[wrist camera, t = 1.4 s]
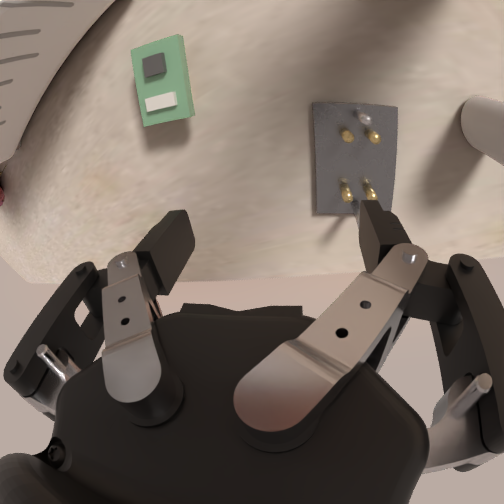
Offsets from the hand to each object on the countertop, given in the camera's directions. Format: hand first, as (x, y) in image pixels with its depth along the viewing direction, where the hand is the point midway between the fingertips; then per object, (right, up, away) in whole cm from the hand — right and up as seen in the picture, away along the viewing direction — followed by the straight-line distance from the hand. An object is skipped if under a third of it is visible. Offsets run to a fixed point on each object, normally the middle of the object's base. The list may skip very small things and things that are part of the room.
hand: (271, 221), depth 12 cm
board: (-11, +18, +13) cm, 25 cm away
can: (+29, +16, +11) cm, 34 cm away
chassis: (+12, +10, +18) cm, 24 cm away
